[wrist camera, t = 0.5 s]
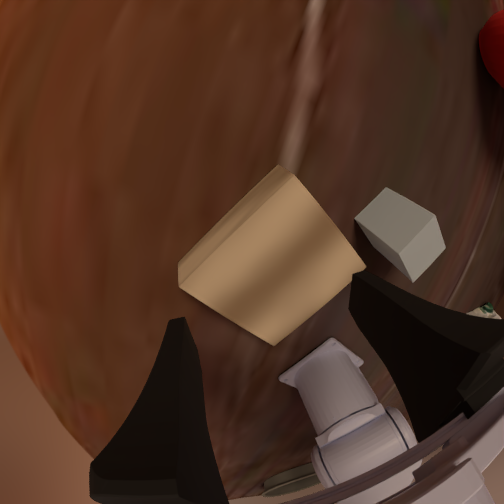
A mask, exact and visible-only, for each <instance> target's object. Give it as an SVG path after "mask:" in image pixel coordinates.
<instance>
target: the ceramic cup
mask: <svg viewBox="0 0 504 504" xmlns="http://www.w3.org/2000/svg"><path fill="white" fill-rule="evenodd" d="M479 47H480V52H481V56H482V59H483V62H484V65H485V67H486V69H487V71H488V72H489V74H490V75H491V76H492V77H493V78H494V79H495V80H496V81H497V82H498V83H499V85H500V86H501V87H502V88H503V89H504V10H501V11H499V12H497V13H495V14H494V15H492V16H491V17H490V18H489V20H488V21H487V22H486V24H485V25H484V27H483V29H482V30H481V31H480V34H479Z"/></svg>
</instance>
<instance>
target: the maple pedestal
mask: <svg viewBox="0 0 504 504" xmlns="http://www.w3.org/2000/svg"><path fill="white" fill-rule="evenodd" d="M365 268H366V265H365V264H364V263H363V261H362V260H361V258H360V257H359V256H358V254H357V253H356V252H355V250H354V249H353V248H352V246H351V245H350V244H349V242H348V241H347V240H346V238H345V237H344V236H343V234H342V233H341V232H340V230H339V229H338V228H337V227H336V225H335V224H334V223H333V221H332V220H331V219H330V218H329V216H328V215H327V214H326V213H325V211H324V210H323V209H322V208H321V206H320V205H319V204H318V203H317V202H316V200H315V199H314V198H313V197H312V195H311V194H310V193H309V192H308V191H307V189H306V188H305V187H304V186H303V185H302V183H301V182H300V181H299V180H298V179H297V178H296V176H295V175H293V174H292V173H290V172H289V171H287V170H286V169H284V168H283V167H281V166H280V165H277V166H276V167H275V168H274V169H273V170H272V171H271V172H269V173H268V174H267V175H266V176H265V177H264V178H263V179H262V180H261V181H260V182H259V183H258V184H257V185H256V186H255V187H254V188H253V189H252V190H250V191H249V192H248V193H247V194H246V195H245V196H244V197H243V198H242V199H241V200H240V201H239V202H238V203H237V204H236V205H235V206H234V207H233V208H232V209H231V210H230V211H229V212H228V213H227V214H226V215H225V216H224V217H223V218H222V219H221V220H220V221H219V222H218V223H217V224H216V225H215V226H214V227H213V228H212V229H211V230H210V231H209V232H208V233H207V234H206V235H205V236H204V237H203V238H202V239H201V240H200V241H199V242H198V243H197V244H196V245H195V246H194V247H193V248H192V249H191V250H190V251H189V252H188V253H187V254H186V255H185V256H184V257H183V258H182V259H181V260H180V261H179V262H178V280H179V287H180V288H181V289H183V290H184V291H186V292H187V293H189V294H190V295H192V296H193V297H195V298H196V299H198V300H199V301H201V302H203V303H204V304H206V305H207V306H209V307H210V308H212V309H213V310H215V311H217V312H218V313H220V314H221V315H223V316H225V317H226V318H228V319H229V320H231V321H233V322H234V323H236V324H237V325H239V326H241V327H242V328H244V329H246V330H247V331H249V332H251V333H252V334H254V335H256V336H257V337H259V338H261V339H262V340H264V341H266V342H268V343H269V344H271V345H273V346H275V345H276V344H277V343H278V342H280V341H281V340H282V339H284V338H285V337H286V336H287V335H289V334H290V333H291V332H292V331H294V330H295V329H296V328H297V327H298V326H300V325H301V324H302V323H303V322H305V321H306V320H307V319H308V318H309V317H311V316H312V315H313V314H314V313H315V312H317V311H318V310H319V309H320V308H321V307H322V306H324V305H325V304H326V303H327V302H328V301H329V300H331V299H332V298H333V297H334V296H335V295H336V294H337V293H339V292H340V291H341V290H342V289H343V288H344V287H345V286H346V285H347V284H349V283H350V282H351V281H352V274H353V273H357V272H360V271H363V270H364V269H365Z"/></svg>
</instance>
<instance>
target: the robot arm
mask: <svg viewBox="0 0 504 504" xmlns="http://www.w3.org/2000/svg"><path fill="white" fill-rule="evenodd" d="M348 309H349V311H350V313H351V315H352V317H353V319H354V320H355V322H356V324H357V326H358V327H359V329H360V330H361V332H362V333H363V335H364V336H365V337H366V339H367V340H368V342H369V343H370V344H371V346H372V347H373V348H374V350H375V351H376V353H377V354H378V355H379V357H380V358H381V360H382V361H383V363H384V364H385V366H386V367H387V369H388V371H389V373H390V375H391V377H392V379H393V380H394V382H395V384H396V386H397V389H398V391H399V393H400V395H401V397H402V399H403V402H404V404H405V407H406V409H407V412H408V414H409V417H410V420H411V423H412V426H413V429H414V432H415V436H416V439H417V441H418V443H419V444H417V442H416V439H415V436H414V434H413V432H412V430H411V428H410V426H409V425H408V423H407V421H406V419H405V418H404V416H403V415H402V414H401V412H400V411H399V410H398V409H397V408H394V407H390V406H388V407H387V408H385V409H384V408H383V406H382V405H381V403H378V399H377V397H376V395H375V393H374V392H373V390H372V389H371V387H370V385H369V384H368V382H367V380H366V379H365V377H364V376H363V374H362V372H361V371H360V369H359V368H358V367H359V366H361V365H362V364H363V360H362V359H361V358H359V357H358V356H357V355H355V354H354V353H353V352H351V351H350V350H349V349H348V348H346V347H345V346H344V345H342V344H341V343H340V342H338V341H337V340H336V339H335V338H329V339H328V340H327V341H325V342H324V343H323V344H322V345H320V346H319V347H318V348H317V349H315V350H314V351H313V352H311V353H310V354H309V355H307V356H306V357H305V358H303V359H302V360H301V361H299V362H298V363H297V364H295V365H294V366H293V367H291V368H290V369H288V370H287V371H286V372H284V373H283V374H281V375H280V376H279V377H278V379H279V381H281V382H283V383H286V384H288V385H291V386H293V387H295V388H297V389H298V392H299V394H300V396H301V398H302V401H303V403H304V405H305V408H306V410H307V412H308V415H309V417H310V419H311V421H312V424H313V426H314V428H315V431H316V433H317V435H318V437H316V438H315V439H316V441H317V444H318V445H316V446H314V447H313V450H312V452H311V461H312V464H313V467H314V470H315V472H316V474H317V476H318V478H319V480H320V482H321V483H322V485H323V486H324V487H325V490H322V491H319V492H317V493H313V494H311V495H307V496H304V497H301V498H298V499H294V500H291V501H287V502H284V503H280V504H334V503H337V504H495V502H494V500H493V499H492V497H491V495H490V493H489V491H488V490H487V488H486V486H485V484H484V481H485V479H484V477H483V475H482V474H481V473H482V472H483V471H484V469H486V468H487V466H488V465H489V464H490V463H491V462H492V461H493V460H494V458H495V457H496V456H497V455H498V454H499V453H500V452H501V450H502V449H503V448H504V359H503V357H504V319H494V318H485V317H479V316H473V315H469V314H464V313H461V312H457V311H453V310H450V309H447V308H444V307H441V306H439V305H436V304H433V303H431V302H428V301H426V300H424V299H421V298H419V297H417V296H415V295H413V294H411V293H408V292H406V291H404V290H402V289H400V288H398V287H396V286H395V285H393V284H391V283H389V282H387V281H385V280H383V279H381V278H379V277H377V276H375V275H373V274H371V273H369V272H367V271H365V270H363V271H360V272H357V273H353V274H352V283H351V292H350V300H349V308H348ZM443 444H444V445H443ZM442 445H443V448H442V451H440V452H439V453H438V454H437V455H435V456H434V457H432V458H431V459H430V460H428V461H427V462H426V463H424V464H423V465H422V466H421V463H422V459H423V458H424V457H426V456H427V455H429V454H430V453H432V452H433V451H435V450H436V449H438V448H439V447H440V446H442ZM413 478H415V482H414V483H412V484H411V482H412V480H413ZM89 485H90V486H89V487H90V497H91V498H92V499H93V500H94V501H96V502H99V503H101V504H229V502H228V499H227V496H226V493H225V490H224V487H223V484H222V481H221V477H220V474H219V471H218V467H217V464H216V460H215V456H214V452H213V449H212V445H211V440H210V436H209V432H208V427H207V421H206V413H205V403H204V393H203V381H202V371H201V366H200V360H199V355H198V350H197V347H196V345H195V342H194V340H193V337H192V335H191V332H190V330H189V327H188V324H187V322H186V319H185V317H181V318H176V319H172V320H170V321H169V322H168V325H167V329H166V332H165V335H164V338H163V341H162V344H161V347H160V350H159V353H158V355H157V358H156V361H155V363H154V366H153V368H152V371H151V373H150V375H149V378H148V380H147V382H146V384H145V386H144V388H143V390H142V392H141V394H140V396H139V398H138V400H137V402H136V404H135V405H134V407H133V409H132V410H131V412H130V414H129V415H128V417H127V418H126V420H125V421H124V423H123V424H122V426H121V427H120V429H119V430H118V431H117V433H116V434H115V435H114V437H113V438H112V439H111V441H110V442H109V443H108V445H107V446H106V447H105V448H104V449H103V450H102V451H101V452H100V454H99V455H98V456H97V457H96V458H95V459H94V460H93V461H92V462H91V464H90V472H89Z"/></svg>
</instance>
